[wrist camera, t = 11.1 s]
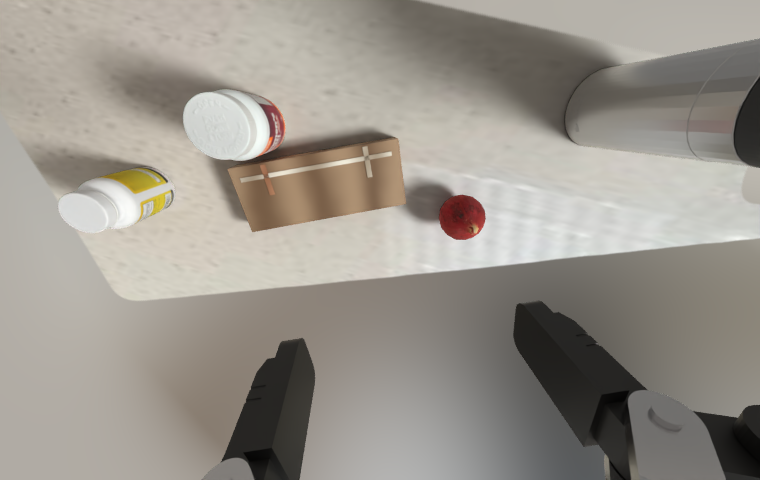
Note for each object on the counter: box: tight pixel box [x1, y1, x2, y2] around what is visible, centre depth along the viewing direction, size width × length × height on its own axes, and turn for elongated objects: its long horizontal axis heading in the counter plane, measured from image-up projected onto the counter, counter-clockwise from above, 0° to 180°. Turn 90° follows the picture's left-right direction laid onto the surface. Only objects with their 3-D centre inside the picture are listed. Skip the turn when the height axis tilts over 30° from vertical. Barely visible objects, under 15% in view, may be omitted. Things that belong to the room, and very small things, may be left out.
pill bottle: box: [183, 89, 286, 161], centre depth 27 cm, size 6×6×11 cm
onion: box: [439, 195, 486, 240], centre depth 35 cm, size 6×6×8 cm
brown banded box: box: [228, 137, 406, 232], centre depth 34 cm, size 20×8×3 cm, turn 99°
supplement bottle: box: [58, 167, 176, 233], centre depth 29 cm, size 5×5×10 cm
